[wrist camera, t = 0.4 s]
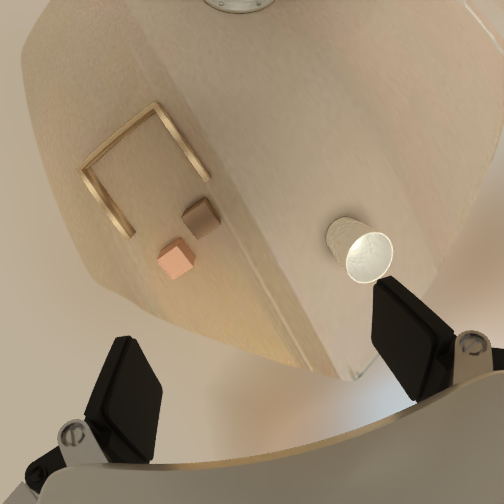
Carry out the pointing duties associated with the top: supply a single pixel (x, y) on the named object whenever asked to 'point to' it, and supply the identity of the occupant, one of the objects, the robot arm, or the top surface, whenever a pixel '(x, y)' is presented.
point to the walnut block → (201, 218)
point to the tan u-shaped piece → (85, 166)
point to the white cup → (359, 249)
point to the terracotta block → (176, 258)
